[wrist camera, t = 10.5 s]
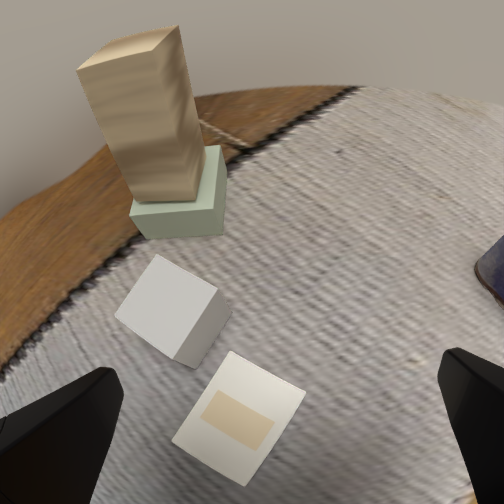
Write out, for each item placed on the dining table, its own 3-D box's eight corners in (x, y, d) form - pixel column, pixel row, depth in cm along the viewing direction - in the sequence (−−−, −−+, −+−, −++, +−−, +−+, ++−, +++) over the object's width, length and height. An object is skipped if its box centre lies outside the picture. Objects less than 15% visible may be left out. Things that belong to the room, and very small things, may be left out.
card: (245, 485, 16) (244, 487, 15) (173, 440, 18) (169, 441, 17) (306, 392, 19) (307, 392, 18) (231, 351, 21) (229, 349, 20)
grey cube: (196, 369, 21) (172, 359, 16) (145, 334, 22) (113, 315, 18) (232, 312, 22) (218, 288, 18) (180, 283, 24) (156, 253, 20)
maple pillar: (195, 200, 22) (151, 50, 12) (136, 201, 23) (75, 70, 13) (206, 156, 25) (178, 24, 15) (153, 159, 26) (111, 40, 15)
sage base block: (223, 236, 26) (213, 208, 22) (147, 240, 27) (129, 215, 23) (227, 175, 29) (220, 145, 26) (160, 181, 30) (147, 154, 26)
